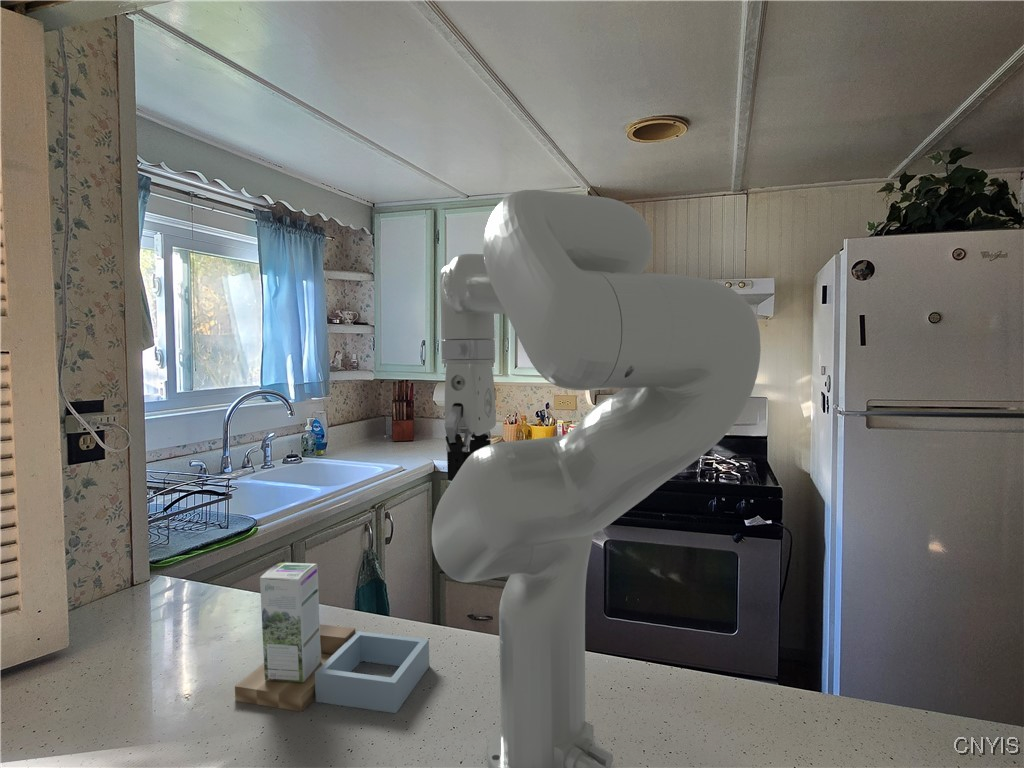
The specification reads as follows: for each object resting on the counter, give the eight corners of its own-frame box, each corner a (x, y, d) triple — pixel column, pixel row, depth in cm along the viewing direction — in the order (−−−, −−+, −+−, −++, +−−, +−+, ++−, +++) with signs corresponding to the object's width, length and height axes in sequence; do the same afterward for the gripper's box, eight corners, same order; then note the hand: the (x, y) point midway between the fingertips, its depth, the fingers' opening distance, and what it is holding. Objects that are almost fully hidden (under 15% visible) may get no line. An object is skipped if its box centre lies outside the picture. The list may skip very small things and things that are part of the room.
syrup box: (322, 661, 84) (319, 561, 83) (303, 685, 78) (299, 577, 77) (284, 659, 85) (280, 560, 84) (262, 682, 79) (258, 576, 78)
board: (343, 669, 85) (342, 656, 85) (301, 711, 76) (301, 696, 76) (282, 661, 88) (282, 648, 88) (235, 700, 78) (234, 686, 78)
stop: (356, 657, 89) (355, 628, 88) (346, 668, 86) (345, 638, 86) (297, 650, 91) (296, 621, 91) (285, 660, 88) (284, 630, 88)
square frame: (429, 665, 86) (428, 639, 86) (395, 713, 75) (395, 682, 75) (358, 657, 89) (357, 631, 89) (315, 701, 78) (314, 672, 78)
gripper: (476, 353, 74) (478, 488, 75) (508, 351, 91) (510, 462, 92) (419, 354, 76) (422, 486, 77) (462, 352, 92) (464, 460, 94)
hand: (470, 473), depth 84 cm, fingers open, 9 cm apart
